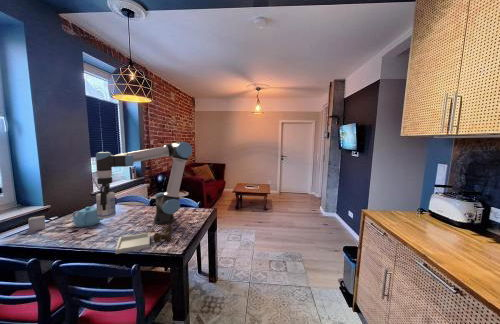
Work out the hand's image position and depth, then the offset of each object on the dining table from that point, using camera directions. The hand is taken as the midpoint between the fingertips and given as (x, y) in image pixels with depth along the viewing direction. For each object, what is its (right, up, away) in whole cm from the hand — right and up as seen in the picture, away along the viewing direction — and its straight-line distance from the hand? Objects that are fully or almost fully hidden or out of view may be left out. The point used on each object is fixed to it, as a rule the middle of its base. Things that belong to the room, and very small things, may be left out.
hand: (106, 212), depth 126 cm
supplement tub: (0, -3, 0) cm, 3 cm away
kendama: (+33, -19, +7) cm, 39 cm away
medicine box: (-61, -16, +17) cm, 65 cm away
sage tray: (+18, -19, -2) cm, 27 cm away
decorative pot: (-32, -16, +26) cm, 45 cm away
